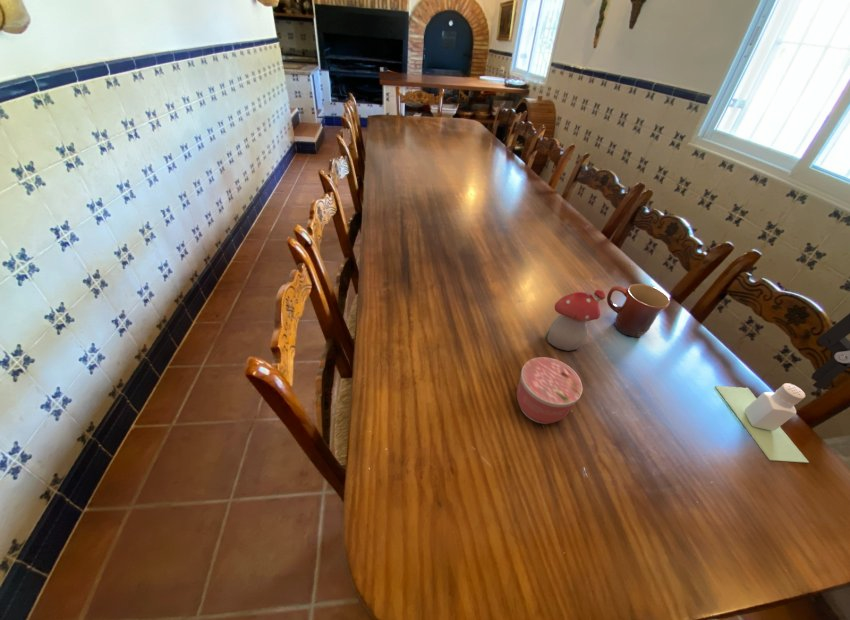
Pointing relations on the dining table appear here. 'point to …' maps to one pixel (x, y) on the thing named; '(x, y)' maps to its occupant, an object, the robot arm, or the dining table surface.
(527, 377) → the container
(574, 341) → the decorative ornament
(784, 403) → the salt shaker
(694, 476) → the dining table surface
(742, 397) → the edge strip
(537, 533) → the dining table surface
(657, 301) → the mug
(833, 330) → the robot arm
